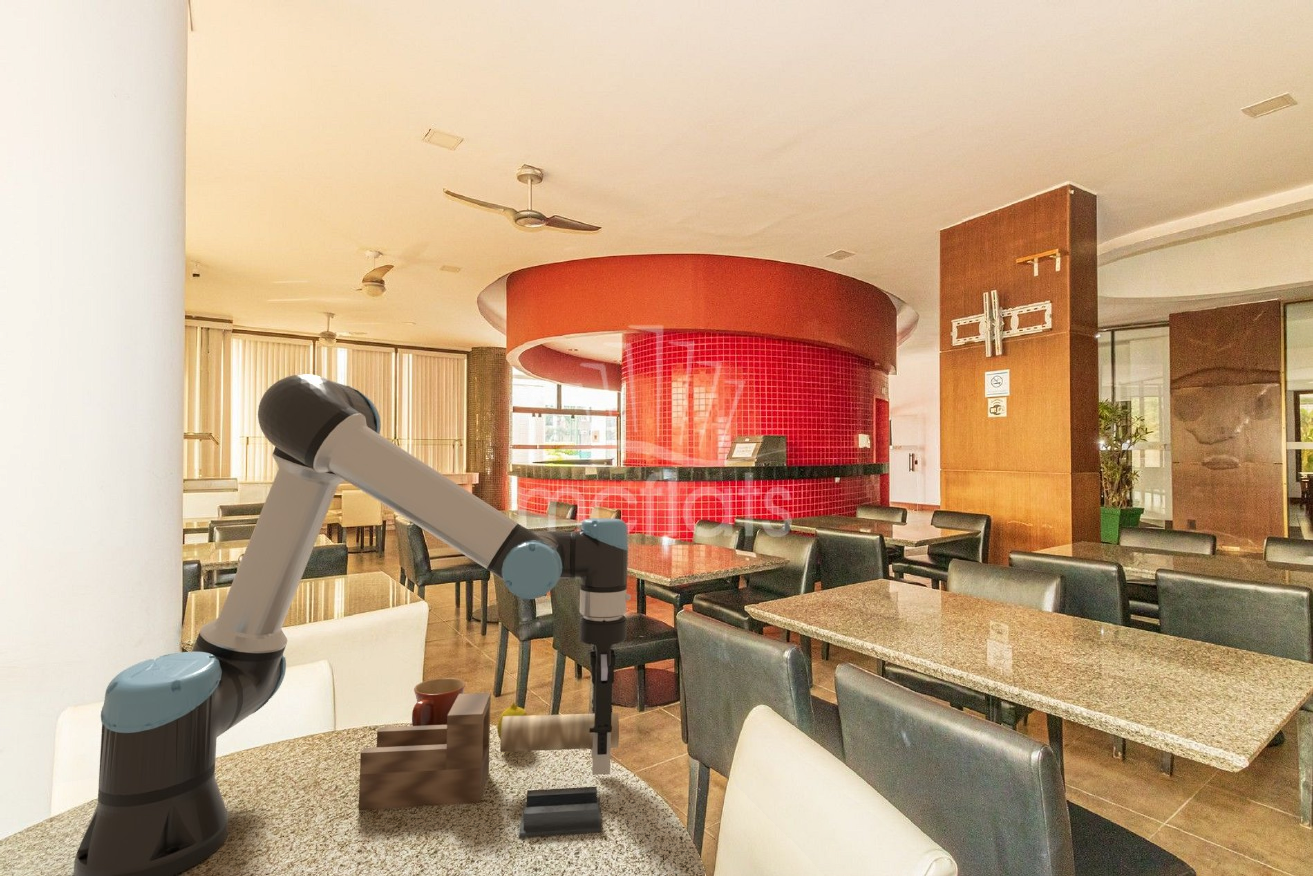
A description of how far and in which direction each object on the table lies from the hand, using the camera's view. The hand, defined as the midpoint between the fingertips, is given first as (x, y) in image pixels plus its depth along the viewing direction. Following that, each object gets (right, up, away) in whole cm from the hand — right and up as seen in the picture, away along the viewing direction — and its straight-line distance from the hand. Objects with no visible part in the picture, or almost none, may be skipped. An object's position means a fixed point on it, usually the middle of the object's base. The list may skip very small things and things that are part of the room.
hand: (600, 764), depth 97 cm
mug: (-31, -3, +11) cm, 33 cm away
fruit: (-16, -3, +11) cm, 20 cm away
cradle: (-5, -2, -11) cm, 12 cm away
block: (-26, -2, -3) cm, 26 cm away
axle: (-6, +3, 0) cm, 7 cm away
